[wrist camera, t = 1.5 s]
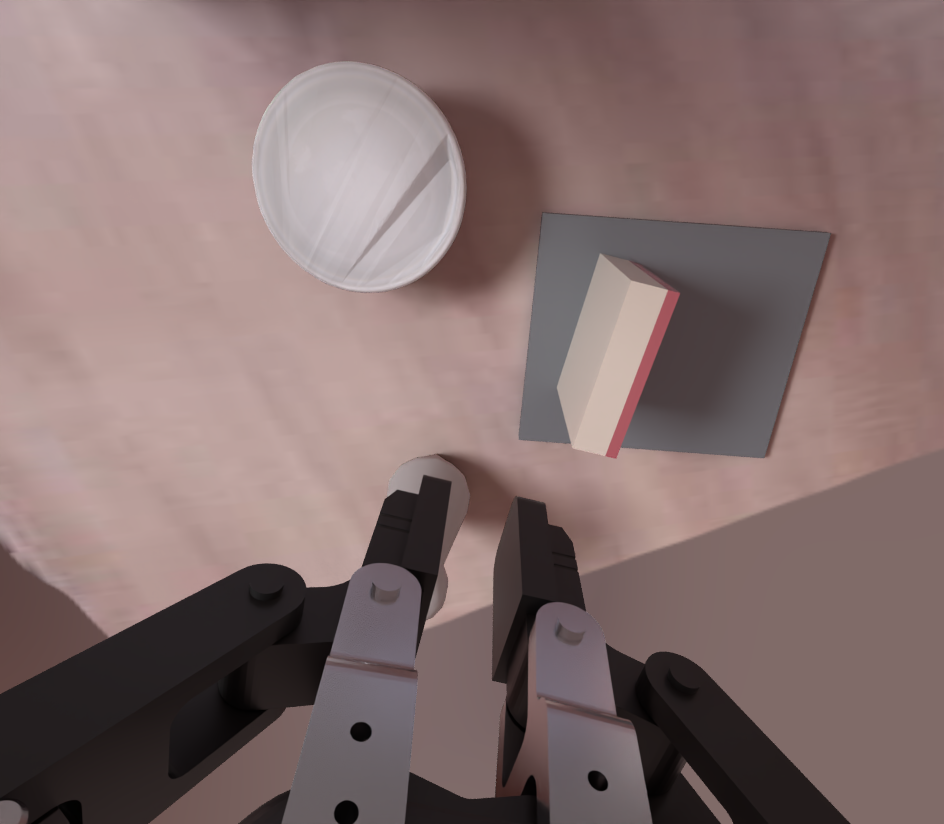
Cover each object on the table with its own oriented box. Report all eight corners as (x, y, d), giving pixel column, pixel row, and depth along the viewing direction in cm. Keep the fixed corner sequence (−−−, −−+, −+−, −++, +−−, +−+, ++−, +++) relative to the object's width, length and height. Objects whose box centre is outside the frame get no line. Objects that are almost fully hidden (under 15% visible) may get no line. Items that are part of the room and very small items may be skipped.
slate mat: (542, 212, 35) (543, 213, 34) (825, 232, 35) (830, 233, 34) (518, 436, 41) (518, 439, 40) (760, 454, 41) (764, 458, 40)
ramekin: (457, 289, 37) (451, 307, 32) (284, 263, 37) (252, 278, 32) (483, 91, 33) (480, 79, 28) (286, 62, 32) (249, 44, 28)
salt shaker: (470, 442, 41) (458, 556, 29) (473, 511, 43) (463, 643, 32) (389, 444, 42) (344, 557, 30) (396, 512, 44) (357, 642, 32)
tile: (556, 387, 39) (572, 448, 30) (600, 253, 35) (631, 280, 27) (591, 395, 39) (616, 458, 31) (637, 262, 35) (680, 293, 27)
